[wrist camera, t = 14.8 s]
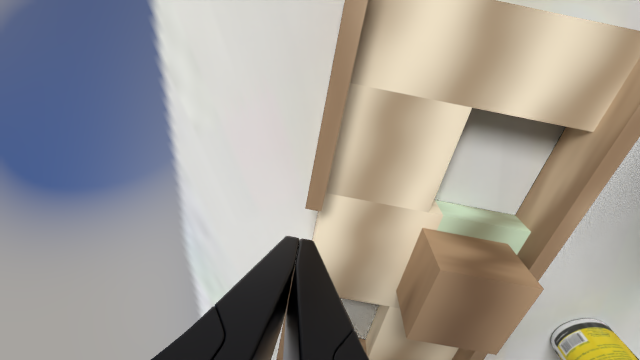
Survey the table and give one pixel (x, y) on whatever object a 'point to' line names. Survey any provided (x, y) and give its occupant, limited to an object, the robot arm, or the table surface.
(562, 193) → the box
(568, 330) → the supplement bottle
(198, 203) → the table surface
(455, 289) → the block
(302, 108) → the table surface
